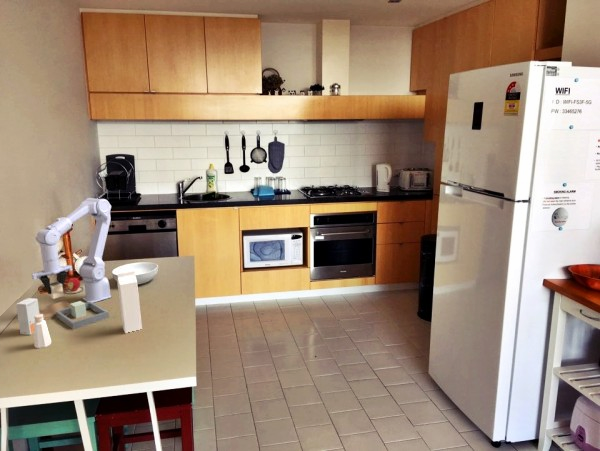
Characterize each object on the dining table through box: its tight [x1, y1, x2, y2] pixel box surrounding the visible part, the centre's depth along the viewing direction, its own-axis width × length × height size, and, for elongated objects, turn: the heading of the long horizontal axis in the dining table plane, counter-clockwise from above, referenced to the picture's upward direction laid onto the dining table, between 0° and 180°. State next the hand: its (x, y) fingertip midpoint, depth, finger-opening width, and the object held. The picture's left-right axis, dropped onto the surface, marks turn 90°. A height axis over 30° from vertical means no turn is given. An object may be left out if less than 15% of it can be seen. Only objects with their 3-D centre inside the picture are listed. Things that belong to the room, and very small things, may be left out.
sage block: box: [69, 300, 87, 319], centre depth 189 cm, size 4×4×5 cm
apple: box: [64, 277, 85, 294], centre depth 217 cm, size 8×8×6 cm
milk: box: [116, 271, 143, 334], centre depth 173 cm, size 6×6×22 cm
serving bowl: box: [111, 261, 159, 286], centre depth 227 cm, size 21×21×7 cm
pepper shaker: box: [33, 314, 52, 349], centre depth 164 cm, size 5×5×11 cm
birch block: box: [48, 281, 64, 300], centre depth 189 cm, size 4×4×5 cm
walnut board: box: [39, 300, 71, 321], centre depth 193 cm, size 14×12×1 cm
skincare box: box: [15, 297, 40, 336], centre depth 175 cm, size 6×4×12 cm
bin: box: [56, 301, 110, 330], centre depth 187 cm, size 14×17×2 cm
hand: (55, 291), depth 189 cm, fingers closed on birch block, 4 cm apart
